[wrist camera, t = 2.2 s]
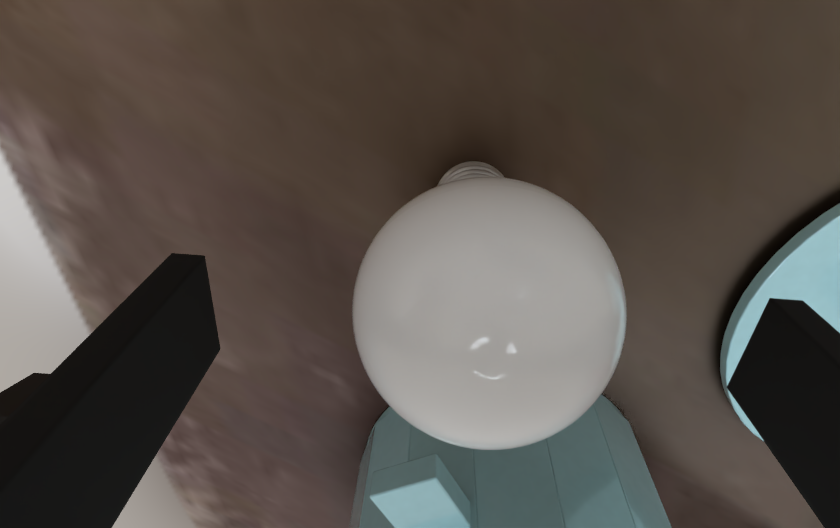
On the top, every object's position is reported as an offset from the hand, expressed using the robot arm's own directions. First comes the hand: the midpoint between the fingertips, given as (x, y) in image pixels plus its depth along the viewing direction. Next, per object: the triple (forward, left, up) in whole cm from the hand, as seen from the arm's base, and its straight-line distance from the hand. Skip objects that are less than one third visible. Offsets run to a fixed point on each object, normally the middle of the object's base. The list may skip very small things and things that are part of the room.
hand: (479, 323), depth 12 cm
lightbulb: (0, 0, -8) cm, 8 cm away
